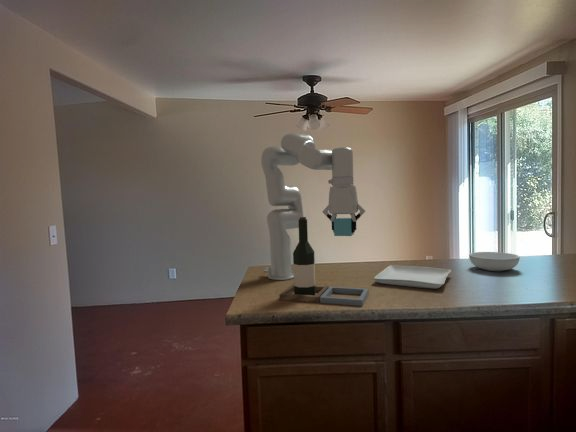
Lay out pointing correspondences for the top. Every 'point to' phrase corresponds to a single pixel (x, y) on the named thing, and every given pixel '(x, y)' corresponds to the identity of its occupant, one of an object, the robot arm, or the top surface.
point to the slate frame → (345, 301)
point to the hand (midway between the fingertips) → (344, 231)
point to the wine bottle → (304, 263)
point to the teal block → (343, 227)
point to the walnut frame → (307, 298)
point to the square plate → (413, 276)
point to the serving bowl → (494, 260)
